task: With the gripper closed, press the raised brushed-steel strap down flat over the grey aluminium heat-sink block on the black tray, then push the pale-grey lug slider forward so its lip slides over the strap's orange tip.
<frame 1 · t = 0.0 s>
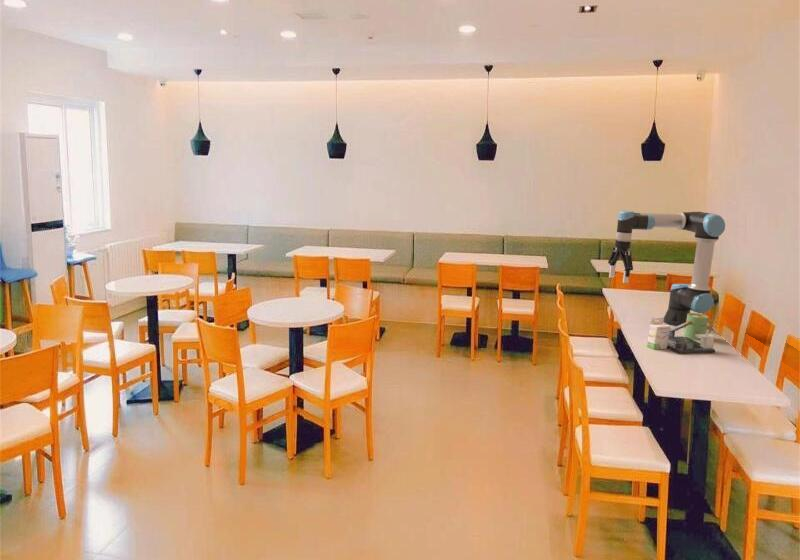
hand: (618, 280, 330), 28 cm above the table, fingers open, 13 cm apart
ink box: (657, 348, 310), on the table
mug: (697, 338, 331), on the table
heat sink: (677, 346, 313), resting on base tray
strap: (678, 327, 312), point 10 cm above the table, hinge at 32.0°
base tray: (682, 346, 313), on the table
lug slider: (703, 341, 306), point 5 cm above the table, slide at 0.0 cm
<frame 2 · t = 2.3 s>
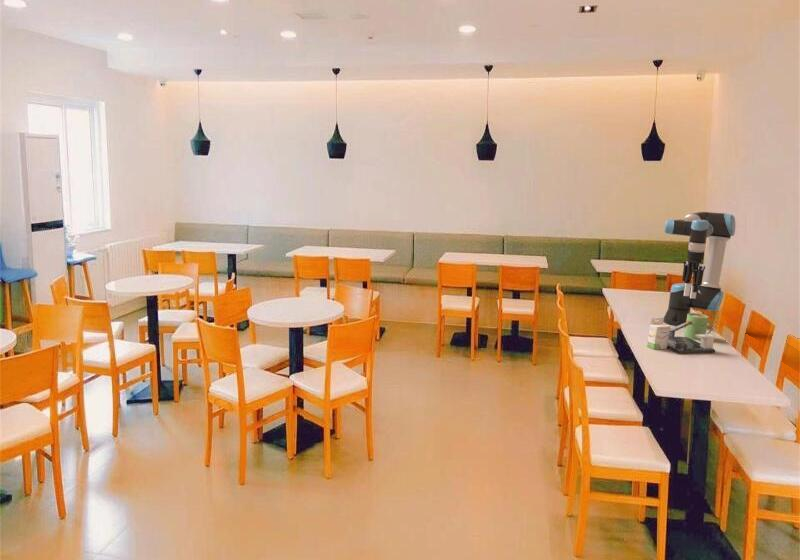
hand: (689, 296, 313), 25 cm above the table, fingers open, 4 cm apart
nothing on the table moved.
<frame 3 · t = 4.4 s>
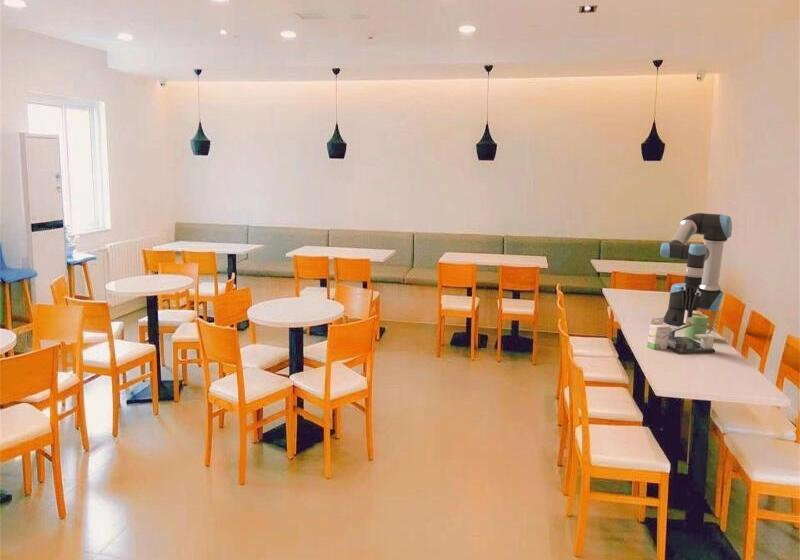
hand: (686, 323, 305), 14 cm above the table, fingers closed
strap: (678, 328, 312), point 9 cm above the table, hinge at 29.0°, touching gripper
everything else where it was.
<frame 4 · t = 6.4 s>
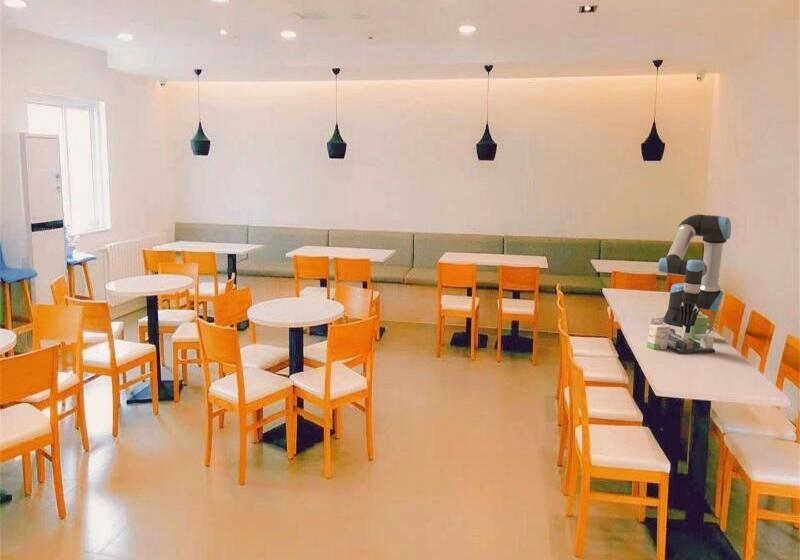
hand: (684, 338, 307), 6 cm above the table, fingers closed
strap: (679, 337, 311), point 5 cm above the table, hinge at -0.1°, touching base tray, gripper
everything else where it was.
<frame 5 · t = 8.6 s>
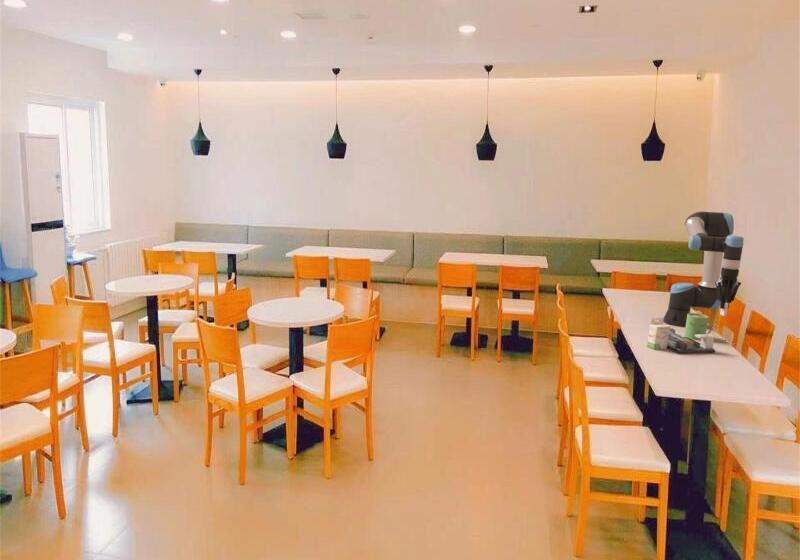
hand: (723, 315, 306), 18 cm above the table, fingers closed
strap: (679, 337, 311), point 5 cm above the table, hinge at -0.1°, touching base tray
everything else where it was.
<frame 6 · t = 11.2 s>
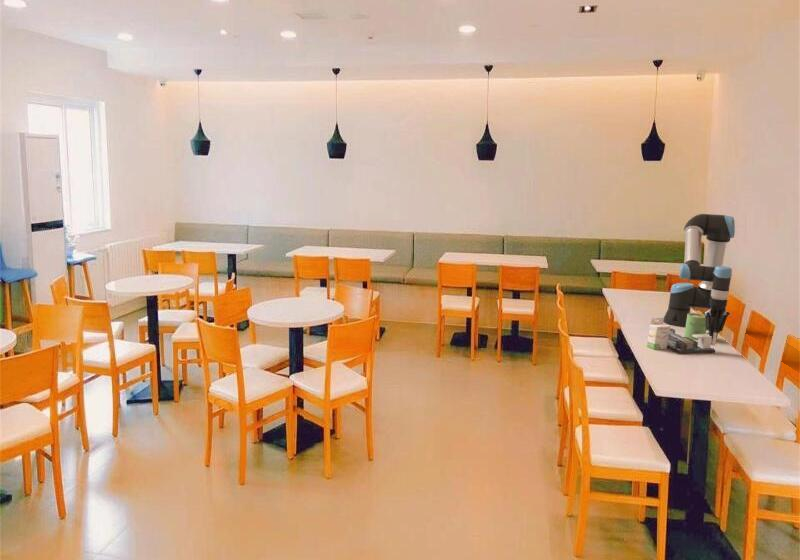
hand: (711, 344, 308), 3 cm above the table, fingers closed
lug slider: (701, 341, 306), point 5 cm above the table, slide at 1.4 cm, touching gripper
everything else where it was.
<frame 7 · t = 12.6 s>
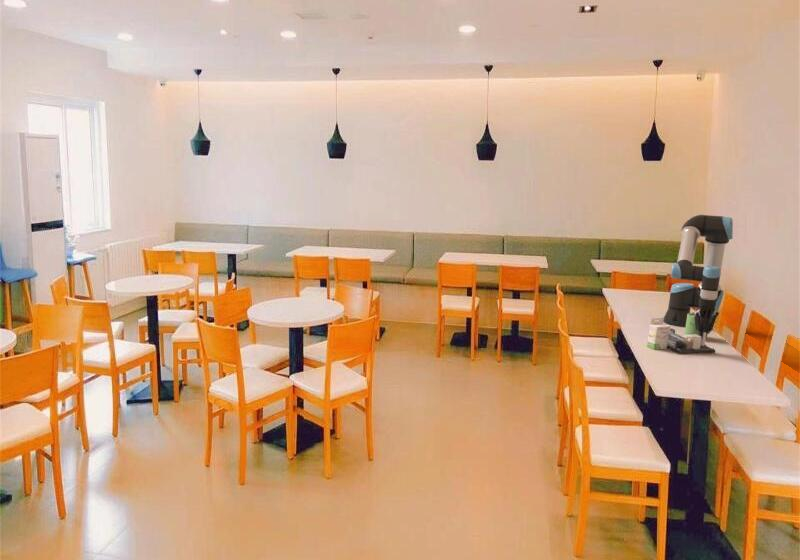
hand: (701, 344, 306), 3 cm above the table, fingers closed
lug slider: (690, 341, 305), point 5 cm above the table, slide at 7.2 cm, touching gripper
everything else where it was.
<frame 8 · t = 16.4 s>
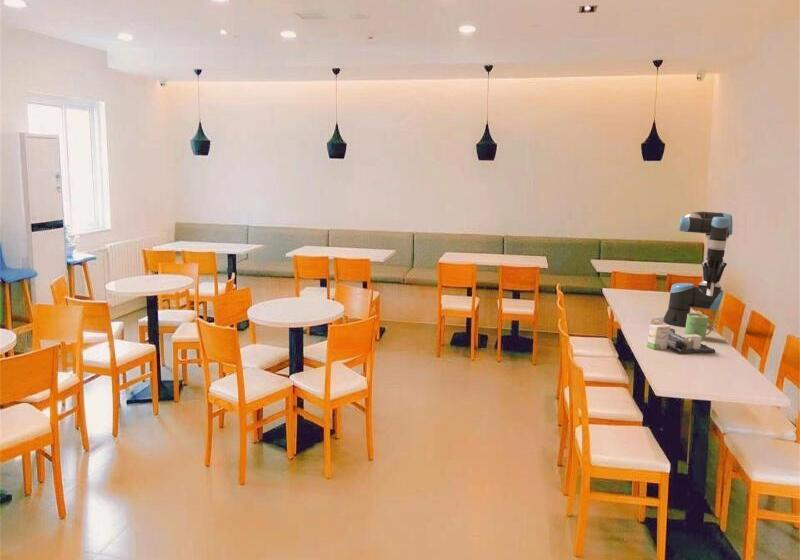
hand: (709, 295, 310), 26 cm above the table, fingers closed
lug slider: (691, 341, 305), point 5 cm above the table, slide at 7.0 cm
everything else where it was.
at the end: strap at +0° (first picture: +32°); lug slider slide at 7.0 cm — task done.
